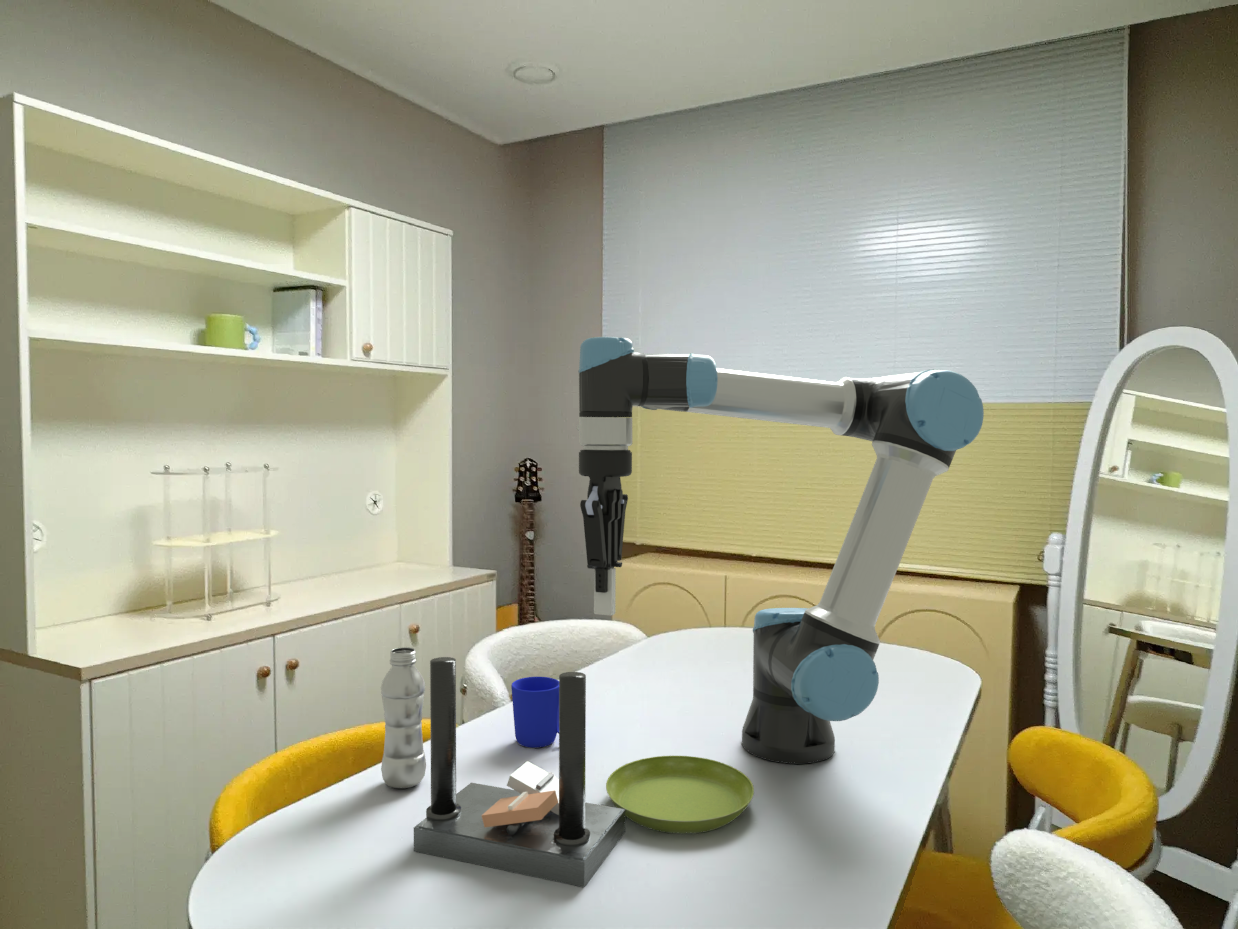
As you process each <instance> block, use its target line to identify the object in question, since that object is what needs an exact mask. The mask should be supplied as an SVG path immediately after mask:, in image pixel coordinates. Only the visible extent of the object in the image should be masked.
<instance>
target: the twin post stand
mask: <svg viewBox="0 0 1238 929" xmlns="http://www.w3.org/2000/svg"><path fill="white" fill-rule="evenodd" d="M429 664H430V666H429V667H430V668H429V669H430V670H429V671H430V672H429V676H430V677H429V678H430V679H429V680H430V681H429V682H430V684H429V685H430V687H429V688H430V689H429V690H430V691H429V692H430V694H429V695H430V704H429V705H430V714H429V715H430V717H429V718H430V805H429V806H427V808H426V810H425V813H426V814H425V815H426V817H425V818H424V819H423V820H421V821H420V822H418V824H416V825H415V826H414V827H413V852H416V853H417V852H418V853H421V854H426V855H429V856H430V855H431V856H434V857H435V856H436V857H440V858H444V859H448V860H455V861H459V862H463V863H468V864H472V865H476V866H477V865H478V866H483V867H486V868H487V867H488V868H492V869H497V870H499V871H500V870H502V871H505V872H509V873H510V872H511V873H515V874H521V875H525V876H529V877H534V878H539V879H543V880H549V881H554V882H557V883H562V884H568V885H572V886H577V887H582V888H585V887H586V886H587V884H588V883H589V882H590V880H591V879H592V878H593V876H594V875H595V873H596V872H597V871H598V870H599V868H600V867H601V866H602V864H603V863H604V861H605V860H606V858H607V857H608V856H609V854H610V853H611V852H612V851H613V849H614V847H616V845H617V844H618V842H620V839H622V837H623V835H624V834H625V833H626V816H625V809H621V808H617V807H616V806H608V805H602V804H596V803H591V802H586V748H587V747H586V742H587V740H586V736H587V735H586V731H587V730H586V726H587V724H586V723H587V722H586V720H587V717H586V716H587V715H586V714H587V711H586V710H587V708H586V706H587V702H586V701H587V699H586V697H587V695H586V693H587V692H586V690H587V681H586V680H587V679H586V678H587V674H585V673H583V672H579V671H567V672H562V673H560V674H559V675H558V679H559V680H558V681H559V734H558V778H559V815H557V814H555V813H554V812H552V811H549V812H548V813H547V814H546V815H545V816H544V817H543V818H542V819H541V820H536V821H528V822H521V823H514V824H506V825H499V826H492V827H484V823H483V819H482V815H483V814H484V813H485V812H486V811H487V810H488V809H489V808H491V807H492V806H493V805H494V804H495V803H496V802H497V801H499V800H500V799H501V798H507V797H514V796H520V795H521V793H519V792H517V791H515V790H514V789H512V788H504V787H499V786H495V785H494V786H493V785H488V784H481V783H477V782H470V783H468V785H466V786H465V787H463V788H462V789H460V790H459V792H457V660H456V658H454V657H450V656H440V657H435V658H431V660H429Z"/></svg>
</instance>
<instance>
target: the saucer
mask: <svg viewBox="0 0 1238 929" xmlns="http://www.w3.org/2000/svg"><path fill="white" fill-rule="evenodd" d="M605 788H606V790H605V791H606V794H607V796H608V797H609V798H610V800H611V802H612V803H613V805H614V807H615V808H621V809H625V818H627V819H629V820H630V821H632V822H634V823H636V824H637V825H639V826H641V827H644V828H646V829H649V830H653V831H658V832H662V833H668V834H681V835H683V834H684V835H686V834H687V835H688V834H689V835H690V834H699V833H705V832H710V831H713V830H716V829H719V828H723V827H724V826H726V825H728V824H730V823H732V822H733V821H734V820H735V819H737V817H740V815H741V814H742V813H743V812H744V811H745V809H747V807H748V806H749V805H750V803H751V801H753V800H752V799H753V798H754V796H755V795H754V794H755V788H754V784H753V782H752V780H751V779H750V778H749V777H748V776H747V775H746V774H745V773H744V772H742V771H740V770H739V769H737V768H735V767H733V766H731V765H730V764H729V765H728V764H726V763H724V762H722V761H717V760H714V759H710V758H706V757H699V756H690V755H658V756H651V757H645V758H640V759H636V760H633V761H630V762H628V763H625V764H623V765H621V766H619V767H618V768H616V769H615V770H614V771H612V772H611V774H610V775H609V776H608V778H607V779H606V783H605Z"/></svg>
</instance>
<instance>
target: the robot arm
mask: <svg viewBox="0 0 1238 929" xmlns="http://www.w3.org/2000/svg"><path fill="white" fill-rule="evenodd" d="M579 348H580V349H579V365H578V366H579V367H578V368H579V369H578V410H579V411H578V416H579V419H578V421H579V423H578V424H576V430H577V431H578V433H579V434H578V436H579V438H578V441H579V443H578V444H579V445H580V446H582V447H583V449H580V451H579V452H578V473H579V475H580V476H582V477H588V478H589V481H588V482H589V483H588V487H587V498H586V499H581V500H580V505H579V506H580V510H581V514H582V519H583V529H584V531H583V532H584V539H585V540H584V541H585V552H586V563H587V564H586V567H587V569H589V570H590V569H591V570H593V614H594V615H602V616H613V615H615V614H616V583H617V582H616V577H617V576H616V575H617V574H616V572H617V571H616V570H617V569H616V568H622V566H623V562H621V560H622V557H623V556H622V555H623V547H624V546H623V544H624V543H623V542H624V531H625V521H626V508H627V506H628V500H629V498H628V497H629V496H628V494H626V493H625V494H624V493H623V489H622V482H621V477H625V478H626V477H630V476H631V475H632V473H633V452H631V450H630V449H629V447H630V446H632V445H633V407H641V408H643V409H644V410H651V411H657V410H664V411H671V412H672V411H673V412H684V413H695V414H701V415H703V414H704V415H712V416H722V417H729V418H736V419H737V418H738V419H739V418H740V419H747V420H756V421H764V422H765V421H766V422H773V423H783V424H793V425H798V426H799V425H801V426H809V427H810V426H811V427H819V428H826V429H827V428H828V429H830V430H831V432H832V433H833V434H834V435H836V436H843V437H849V438H850V437H851V438H856V439H861V440H864V441H869V442H871V446H872V448H873V450H874V453H875V455H876V460H875V463H874V465H873V468H872V470H871V472H870V474H869V477H868V480H867V482H866V485H865V487H864V491H863V492H862V495H861V496H860V500H859V503H858V505H857V507H856V509H855V513H854V514H853V515H854V516H853V517H852V520H851V523H850V525H849V527H848V531H847V533H846V535H845V538H844V540H843V543H842V546H841V548H840V550H839V553H838V555H837V558H836V560H835V563H834V564H833V565H834V566H833V568H832V570H831V573H830V575H829V579H828V580H827V582H826V586H825V589H824V591H823V593H822V596H821V598H820V599H819V600H820V601H819V603H818V604H817V605H814V606H812V607H808V608H807V607H776V608H775V607H772V608H765V609H760V610H759V611H757V612H756V613H755V615H754V621H753V622H754V623H753V628H752V633H753V649H752V650H753V655H752V656H753V658H752V659H753V661H752V662H753V665H752V666H753V667H752V671H753V673H752V674H753V675H752V677H753V678H752V680H753V681H752V686H753V688H752V700H751V703H750V706H749V708H748V712H747V715H746V716H745V717H746V718H745V720H744V724H743V726H742V728H741V729H742V730H741V745H742V747H743V749H744V750H746V751H747V752H748V753H749V754H751V755H754V756H755V757H758V758H761V759H764V760H767V761H771V762H777V763H783V764H792V765H793V764H794V765H795V764H798V765H799V764H802V765H803V764H812V763H819V762H822V761H824V760H825V761H826V760H827V759H829V758H831V757H832V756H833V755H834V754H835V750H836V749H835V747H836V746H835V745H836V743H835V741H836V739H835V733H834V730H833V726H832V724H831V722H842V721H847V720H849V719H851V718H853V717H857V716H859V715H861V714H862V713H863V712H864V711H866V709H867V708H868V707H869V706H870V705H871V703H873V700H874V699H875V697H876V695H877V692H878V688H879V683H880V682H879V681H880V679H879V678H880V677H879V673H878V670H877V665H876V663H875V661H874V659H875V657H876V654H877V651H878V649H879V646H880V644H881V640H880V638H879V636H878V633H877V631H876V623H877V621H878V619H879V616H880V615H881V612H882V609H883V606H884V604H885V601H886V599H887V597H888V593H889V591H890V589H891V586H892V583H893V581H894V578H895V576H896V574H897V571H898V569H899V567H900V563H901V560H902V558H903V556H904V554H905V551H906V549H907V545H908V543H909V541H910V538H911V535H912V533H913V530H914V528H915V526H916V524H917V521H918V519H919V515H920V513H921V511H922V508H923V506H924V503H925V500H926V497H927V495H928V493H929V490H930V488H931V485H932V482H933V480H934V479H935V478H936V477H938V476H939V475H942V474H944V473H947V472H948V471H949V469H950V467H951V465H952V461H953V459H954V457H955V456H956V455H955V454H956V451H957V450H960V449H963V448H964V447H966V446H968V445H969V444H971V443H972V442H973V441H974V440H975V439H976V438H977V437H978V436H979V434H980V432H981V429H982V427H983V423H984V416H985V415H984V414H985V412H984V404H983V400H982V398H981V397H980V395H979V392H978V388H976V386H975V385H974V384H973V382H971V381H970V380H969V378H967V377H966V376H964V375H962V374H960V373H958V372H955V371H954V370H953V371H952V370H947V369H946V370H944V369H943V370H942V369H941V370H940V369H934V368H933V369H925V370H922V371H920V372H911V373H909V372H908V373H901V374H892V375H886V376H881V377H879V376H878V377H872V378H871V377H868V378H867V377H866V378H856V377H847V376H844V377H840V379H839V380H837V381H826V380H820V379H819V380H818V379H810V378H802V377H794V376H787V375H777V374H770V373H760V372H752V371H743V370H736V369H735V370H734V369H726V368H720V367H717V364H716V362H715V360H714V357H711V356H710V355H706V354H695V353H693V352H692V353H644V352H643V353H640V352H636V351H635V349H634V348H633V341H632V340H631V339H630V338H627V337H617V336H595V337H589V338H586V339H585V340H583V341H582V343H581V344H580V347H579ZM619 561H620V562H619Z"/></svg>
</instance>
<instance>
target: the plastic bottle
mask: <svg viewBox="0 0 1238 929" xmlns="http://www.w3.org/2000/svg"><path fill="white" fill-rule="evenodd" d="M416 654H417V652H416V648H413V647H407V646H406V647H405V646H404V647H403V646H402V647H401V646H400V647H395V648H393V649H391V650H390V659H389V664H390V666H391V667H390V669H389V670H388V671H387V673H386V675H385V676H384V678H383V680H382V681H381V682H382V683H381V686H380V691H381V692H380V693H381V694H380V695H381V699H382V707H383V712H384V713H383V716H384V729H385V730H384V731H385V733H384V746H383V754H382V758H381V768H380V770H381V771H380V772H381V776H382V780H383V782H384V783H385V784H386V786H388V787H390V788H392V789H393V788H394V789H406V788H413V787H415V786H417V785H419V784H421V782H422V781H423V779H424V777H425V775H426V769H427V760H426V754H425V750H424V742H423V730H422V724H423V722H422V720H423V708H424V707H423V706H424V698H425V691H426V683H425V679H424V677H423V675H422V673H421V672H420V670H418V668H417V667H416V666H415V664H416V663H417V658H416Z"/></svg>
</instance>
